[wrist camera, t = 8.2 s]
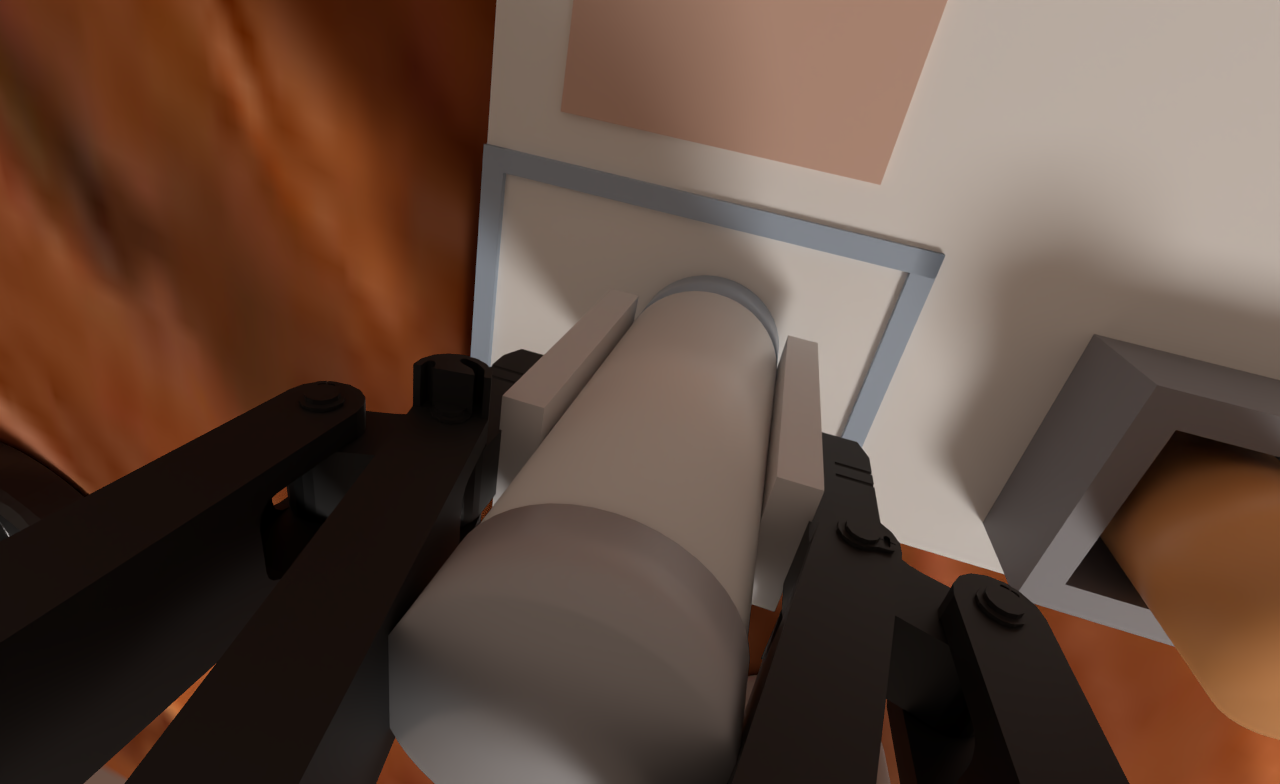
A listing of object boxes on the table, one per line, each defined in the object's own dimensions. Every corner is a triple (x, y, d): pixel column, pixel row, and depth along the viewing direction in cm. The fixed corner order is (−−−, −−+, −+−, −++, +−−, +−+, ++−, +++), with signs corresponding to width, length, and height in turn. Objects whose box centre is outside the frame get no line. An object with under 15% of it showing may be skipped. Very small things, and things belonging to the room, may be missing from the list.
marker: (624, 389, 18) (379, 781, 8) (650, 257, 16) (371, 542, 6) (757, 427, 18) (686, 903, 7) (800, 295, 16) (790, 684, 5)
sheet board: (480, 402, 21) (420, 460, 18) (527, -218, 13) (436, -322, 10) (1158, 604, 18) (1237, 717, 15) (1689, -32, 11) (2087, -88, 7)
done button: (1058, 533, 16) (1156, 701, 11) (1142, 408, 14) (1297, 550, 10) (1215, 579, 15) (1381, 772, 11) (1322, 455, 14) (1572, 628, 9)
